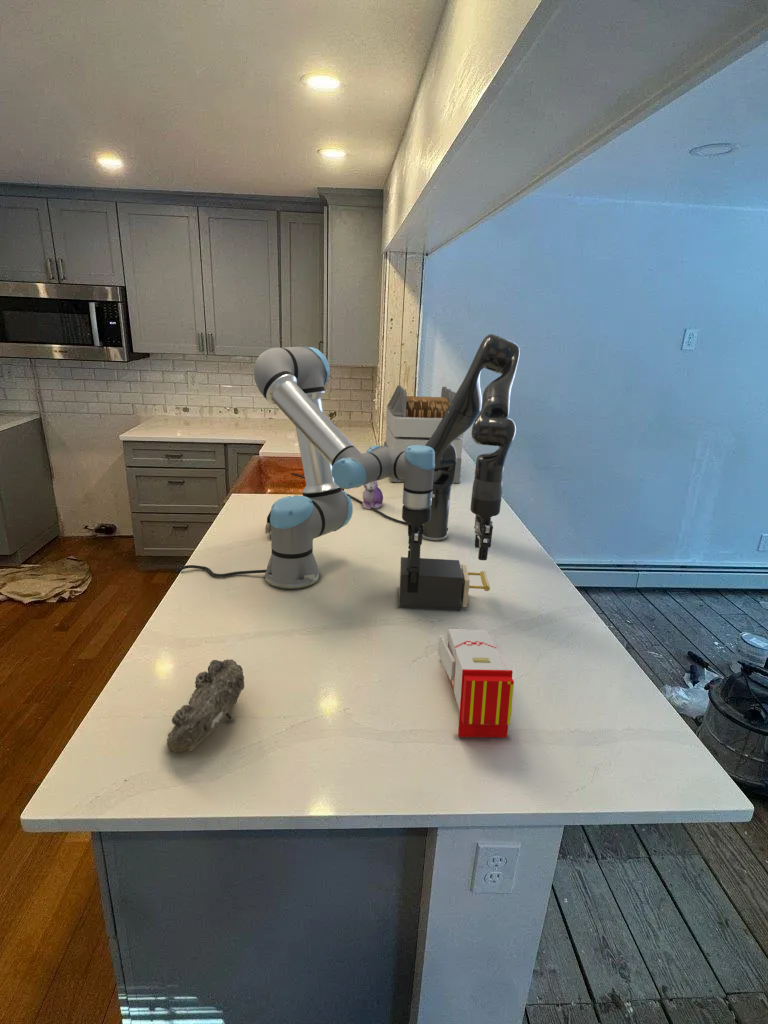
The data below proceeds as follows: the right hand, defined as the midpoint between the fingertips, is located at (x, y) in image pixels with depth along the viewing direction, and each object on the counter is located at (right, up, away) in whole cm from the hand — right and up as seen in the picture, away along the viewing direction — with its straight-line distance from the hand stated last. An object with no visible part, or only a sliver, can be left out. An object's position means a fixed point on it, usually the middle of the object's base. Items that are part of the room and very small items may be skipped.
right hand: (480, 553), depth 151 cm
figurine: (-30, +13, +76) cm, 83 cm away
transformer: (-8, +30, +124) cm, 128 cm away
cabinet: (-13, -13, +5) cm, 19 cm away
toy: (-8, -27, -32) cm, 42 cm away
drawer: (-8, -12, +5) cm, 15 cm away
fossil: (-58, -28, -42) cm, 77 cm away
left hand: (-18, -8, +4) cm, 20 cm away
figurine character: (-62, +4, +46) cm, 78 cm away
